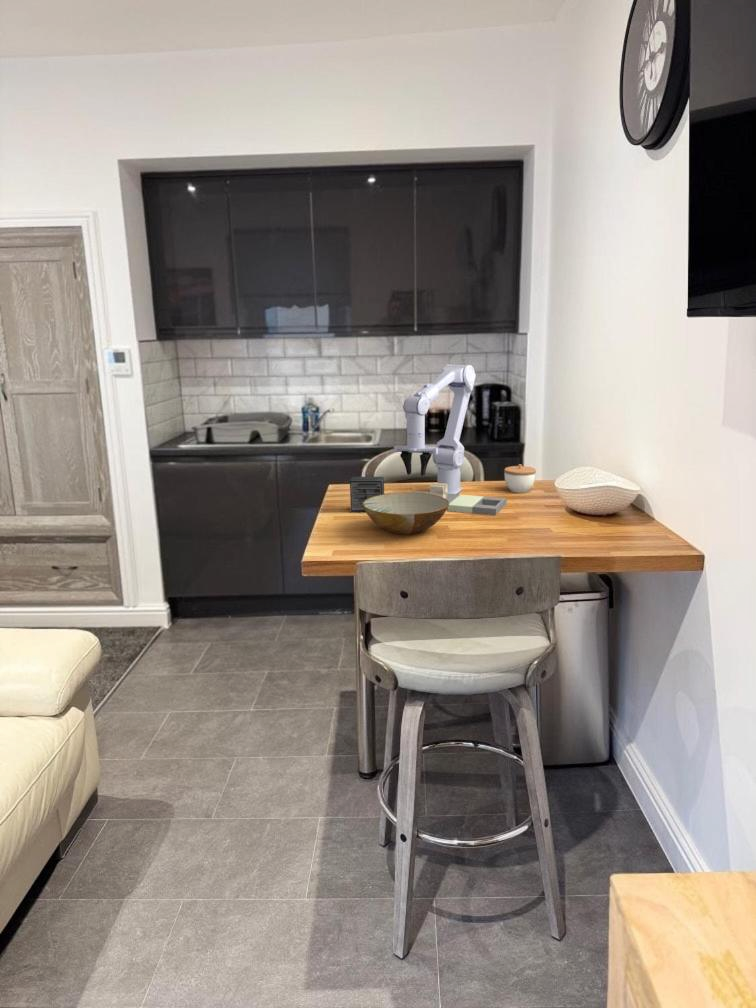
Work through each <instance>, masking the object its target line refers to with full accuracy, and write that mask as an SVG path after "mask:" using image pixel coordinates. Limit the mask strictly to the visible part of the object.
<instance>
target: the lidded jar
mask: <svg viewBox="0 0 756 1008" xmlns="http://www.w3.org/2000/svg"><path fill="white" fill-rule="evenodd" d="M536 471H537V469H536V468H534V467H531V466H526V465H525V466H524V465H522V464H520V463H519V464H518V465H512V466H508V467H505V468H504V480H505V485H506V486H507V488H508V489H509V490H510V492H512V493H516V492H517V493H518V494H519V493H520V494H521V493H522V494H524V493H528V492H529V490H530V489H531V488H532V487H533V486H534V484H535V481H536Z"/></svg>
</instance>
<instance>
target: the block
mask: <svg viewBox="0 0 756 1008" xmlns="http://www.w3.org/2000/svg"><path fill="white" fill-rule="evenodd" d="M429 492H430V494H432V495H436V496H440V497H443V498H445V499H446V498H447V484H442V483H438V482H433V483H432V484H431V485H429Z"/></svg>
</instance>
